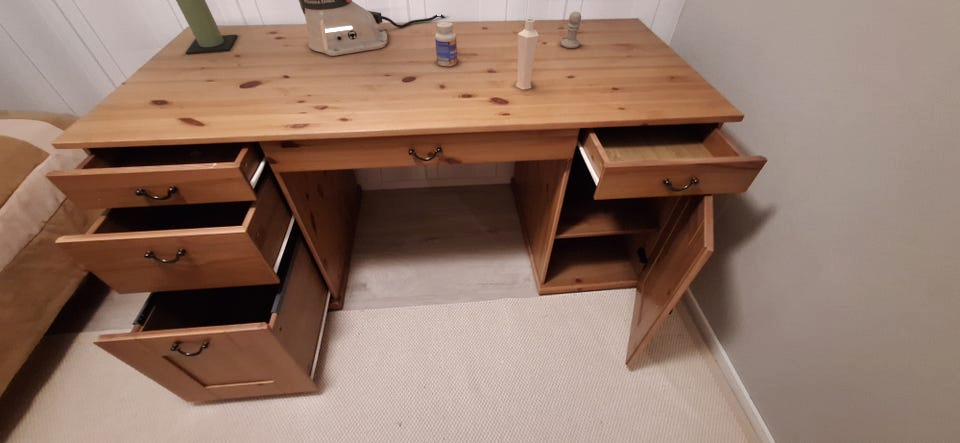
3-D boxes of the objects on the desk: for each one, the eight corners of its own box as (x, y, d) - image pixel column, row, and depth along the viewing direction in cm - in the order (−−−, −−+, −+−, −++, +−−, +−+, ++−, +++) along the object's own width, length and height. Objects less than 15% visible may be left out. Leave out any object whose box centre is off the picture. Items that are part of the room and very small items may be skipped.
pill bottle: (454, 67, 99) (452, 28, 92) (434, 66, 100) (431, 27, 93) (459, 59, 103) (457, 21, 96) (440, 57, 104) (437, 19, 97)
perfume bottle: (512, 81, 94) (517, 16, 83) (530, 81, 94) (537, 16, 83) (515, 90, 91) (520, 24, 80) (533, 90, 91) (541, 23, 80)
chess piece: (582, 44, 111) (588, 11, 104) (574, 50, 108) (580, 16, 101) (565, 40, 113) (571, 7, 106) (557, 46, 110) (562, 12, 103)
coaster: (237, 36, 113) (236, 34, 113) (229, 51, 106) (228, 48, 105) (197, 39, 112) (196, 37, 111) (186, 54, 104) (185, 52, 104)
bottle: (226, 37, 111) (195, -29, 99) (221, 46, 107) (188, -22, 95) (202, 39, 110) (168, -28, 98) (196, 48, 106) (160, -21, 94)
